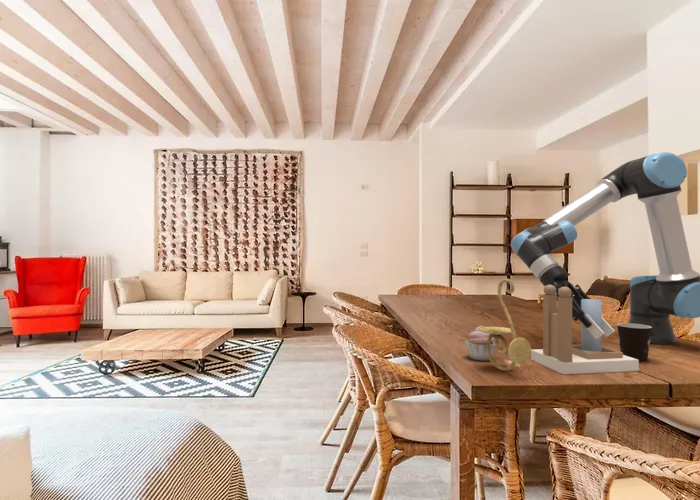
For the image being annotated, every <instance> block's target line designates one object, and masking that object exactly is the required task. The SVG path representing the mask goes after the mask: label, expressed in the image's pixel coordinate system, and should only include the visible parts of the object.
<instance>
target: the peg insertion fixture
mask: <svg viewBox="0 0 700 500" xmlns="http://www.w3.org/2000/svg"><path fill="white" fill-rule="evenodd" d="M555 293H556V288H555V287H554V286H553V285H546V286H544V288H543V294H542V319H543V320H542V348H539V349H538V348H537V349H532V348H531V354H530V360H531V361H532V362H535V363H537V364H539V365H542V366H544V367H546V368H549V369H550V370H553V371H556V372H557V373H559V374H562V375H578V374H579V375H581V374H584V375H585V374H603V373H621V372H625V373H626V372H627V373H628V372H639V371H640V369H639V368H640V367H639V364H640V362H639V360H638V359H634V358H631V357H628V356H625V355H623V352H621V351H619V350H615V349H613V348H610V347H606V346H603V345H602V351H599V352H593V351H586V350H583V349H581V344H573V318H572V297H570V296H571V294H572V292H571V290H570V288H568V287H561V288H560V289H559V290H558V294H559V296H560V297H558V302H557V295H554V294H555Z"/></svg>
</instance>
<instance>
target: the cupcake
mask: <svg viewBox="0 0 700 500" xmlns="http://www.w3.org/2000/svg"><path fill="white" fill-rule="evenodd" d="M482 327H484V326H483V325H479V326H477V327H476V328H475V329H474V330H473V331H470V332H469V333H468V339H466V341H464V344H465V347H466V348H467V350H468V351H467V352H468V355H469V357H470V359H471V360H474V361H480V362H481V361H482V362H486V361H490V359H489V357H488V354H487V340H488V337H489V335H490V334H488V333H484V332H482V331H480V330H479V328H482ZM494 340H495V337H492V339H491V342H490V351H491V355H492V357H493V356H494V355H493V354H494V351H495V348H496V347H497V346H495V344H496V343H495V341H494Z"/></svg>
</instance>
